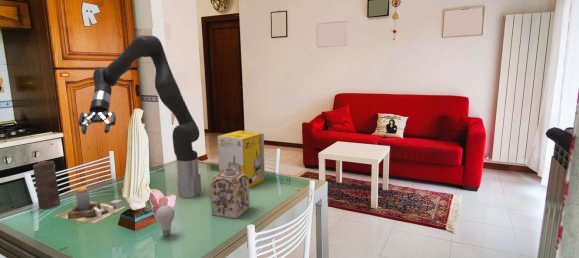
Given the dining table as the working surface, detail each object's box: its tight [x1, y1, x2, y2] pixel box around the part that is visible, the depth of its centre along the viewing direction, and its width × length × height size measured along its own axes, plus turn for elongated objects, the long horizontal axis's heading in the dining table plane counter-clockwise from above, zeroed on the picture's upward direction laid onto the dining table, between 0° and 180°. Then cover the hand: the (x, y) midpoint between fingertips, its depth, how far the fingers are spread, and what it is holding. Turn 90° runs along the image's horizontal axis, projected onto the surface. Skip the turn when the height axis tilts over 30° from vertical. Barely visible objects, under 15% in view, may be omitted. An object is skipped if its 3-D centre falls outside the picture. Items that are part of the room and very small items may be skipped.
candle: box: [32, 160, 61, 210], centre depth 142 cm, size 8×7×20 cm
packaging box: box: [217, 130, 266, 189], centre depth 172 cm, size 16×16×25 cm
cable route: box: [86, 199, 124, 218], centre depth 136 cm, size 7×14×3 cm, turn 162°
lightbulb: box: [155, 205, 176, 237], centre depth 118 cm, size 6×6×11 cm
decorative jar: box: [210, 168, 250, 219], centre depth 137 cm, size 12×12×18 cm
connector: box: [75, 186, 91, 211], centre depth 135 cm, size 4×4×10 cm
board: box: [53, 200, 126, 224], centre depth 137 cm, size 20×16×1 cm
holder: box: [67, 202, 101, 220], centre depth 135 cm, size 9×9×2 cm
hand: (94, 132), depth 146 cm, fingers open, 8 cm apart
